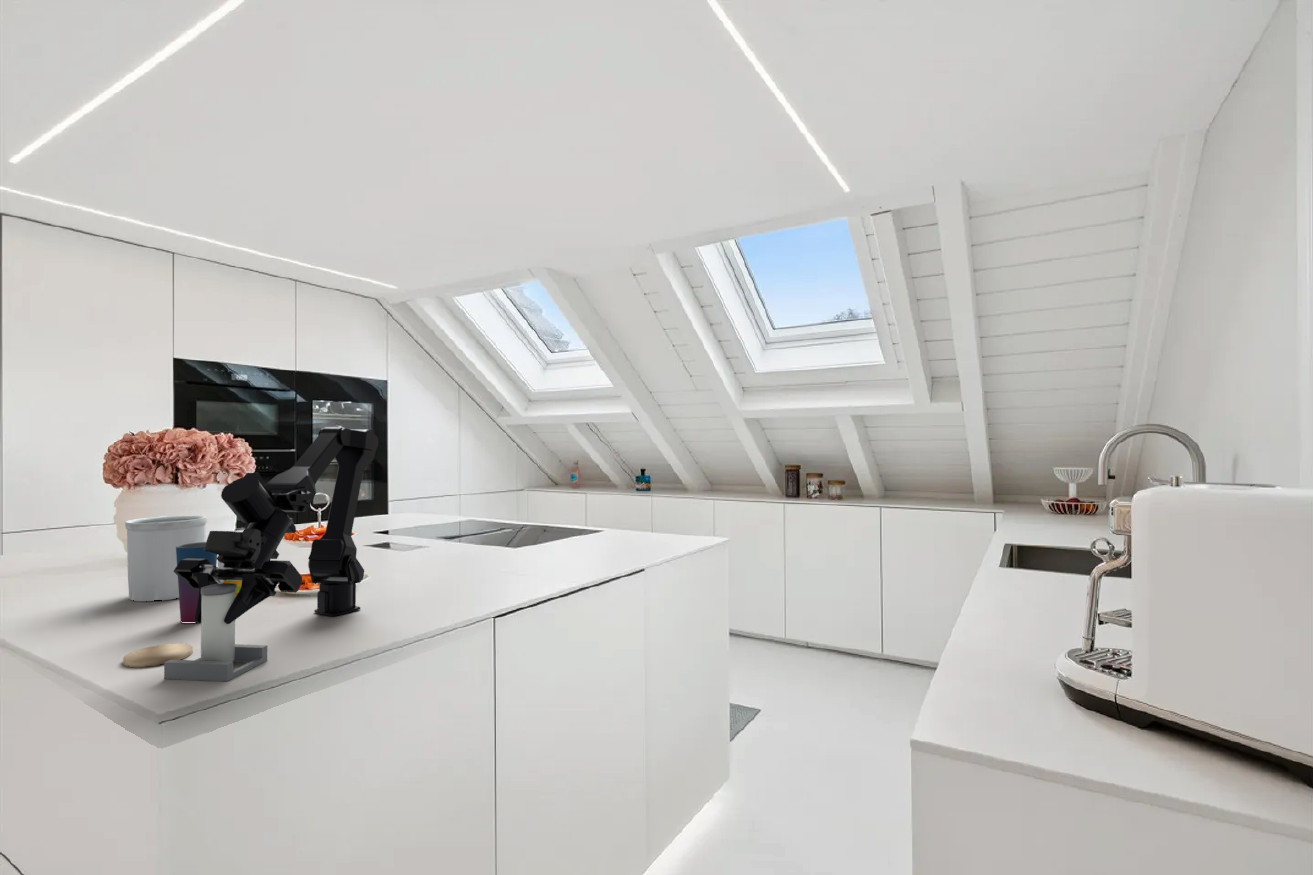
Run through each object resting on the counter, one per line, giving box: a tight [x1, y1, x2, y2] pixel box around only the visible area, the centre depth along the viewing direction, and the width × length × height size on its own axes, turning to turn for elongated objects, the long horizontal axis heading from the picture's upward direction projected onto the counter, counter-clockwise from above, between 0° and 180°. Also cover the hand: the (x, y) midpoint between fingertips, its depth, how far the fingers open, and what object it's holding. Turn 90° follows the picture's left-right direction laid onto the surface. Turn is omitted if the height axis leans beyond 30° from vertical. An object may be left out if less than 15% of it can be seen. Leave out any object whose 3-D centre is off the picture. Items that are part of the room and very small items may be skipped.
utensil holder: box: [124, 514, 208, 602], centre depth 144 cm, size 15×15×18 cm
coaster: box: [122, 643, 193, 668], centre depth 104 cm, size 9×9×1 cm
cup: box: [176, 541, 218, 622], centre depth 125 cm, size 7×7×15 cm
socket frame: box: [163, 643, 268, 682], centre depth 99 cm, size 9×10×2 cm
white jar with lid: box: [200, 583, 236, 662], centre depth 99 cm, size 5×5×12 cm
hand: (211, 622), depth 98 cm, fingers closed on white jar with lid, 4 cm apart
